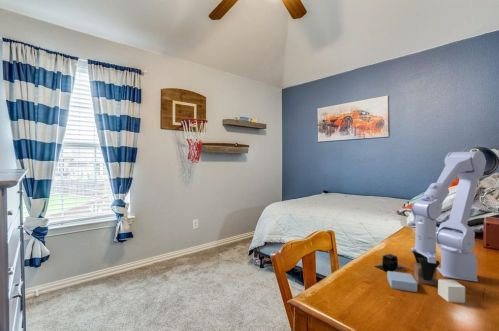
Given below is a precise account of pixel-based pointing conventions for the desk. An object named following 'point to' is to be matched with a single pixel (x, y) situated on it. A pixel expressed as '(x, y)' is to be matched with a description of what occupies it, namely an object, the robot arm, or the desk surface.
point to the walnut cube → (419, 276)
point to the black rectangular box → (389, 263)
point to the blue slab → (402, 281)
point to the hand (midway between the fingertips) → (424, 276)
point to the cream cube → (451, 291)
